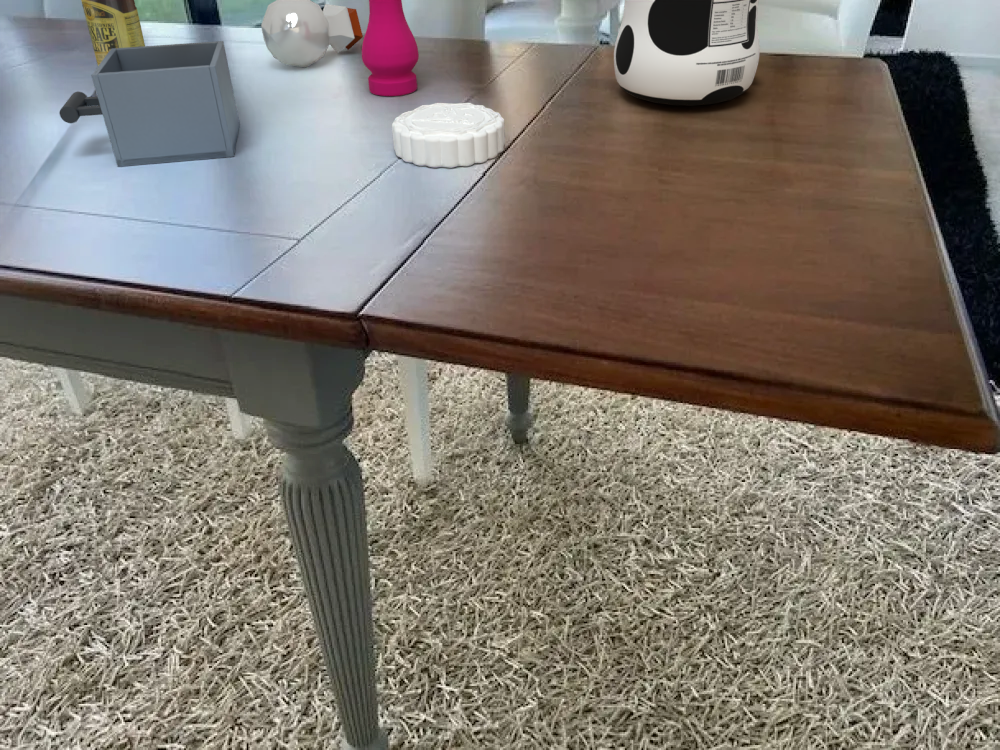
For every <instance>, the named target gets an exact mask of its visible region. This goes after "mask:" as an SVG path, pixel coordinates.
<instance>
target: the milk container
mask: <svg viewBox="0 0 1000 750" xmlns="http://www.w3.org/2000/svg"><path fill="white" fill-rule="evenodd" d="M759 1H760V0H624V2H623V3H624V4H623V5H624V6H623V14H622V18H621V22H620V27H619V30H618V34H617V37H616V40H615V44H614V48H613V67H614V74H615V80H616V82H617V84H618V86H619V87H620V89H621V90H623V91H624V92H625V93H627V94H628V95H631V96H633V98H636V99H638V100H639V99H640V100H642V101H646V102H647V101H648V102H650V103H655V104H660V105H662V104H663V105H669V106H688V107H693V106H694V107H695V106H701V105H702V106H703V105H715V104H719V103H722V102H727V101H731V100H733V99H735V98H738V97H739V96H741V95H742V94H744V93H746V92H747V91H748V89H749V88H750V87H751V86H752V84H753V82H754V78H755V76H756V73H757V69H758V66H759V61H760V55H761V54H760V52H761V51H760V50H761V48H760V47H761V45H760V37H759V29H758V9H759Z"/></svg>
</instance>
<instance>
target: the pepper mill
mask: <svg viewBox="0 0 1000 750" xmlns="http://www.w3.org/2000/svg"><path fill="white" fill-rule="evenodd" d="M368 6H369V8H368V10H369V13H368V15H369V16H368V22H367V27H366V30H365V34H364V36H363V40H362V46H361V60H362V63H363V65H364V66H365V67H366V68H367V69H368V71H369V72H370V73H371V74H370V75H369V76H368V77H367V82H368V90H369V92H370V93H371V94H372V95H375V96H379V97H400V96H401V97H402V96H406V95H410V94H413V93H414V92H415V91H417V89H418V78H417V74H416V73H415V72H414V71H413V70H414V67H416V65H417V63H418V62H419V59H420V57H419V55H420V53H419V48H418V44H417V41H416V38H415V36H414V34H413V32H412V30H411V28H410V26H409V23H408V20H407V19H406V15H405V13H404V7H403V2H402V0H368Z"/></svg>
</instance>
